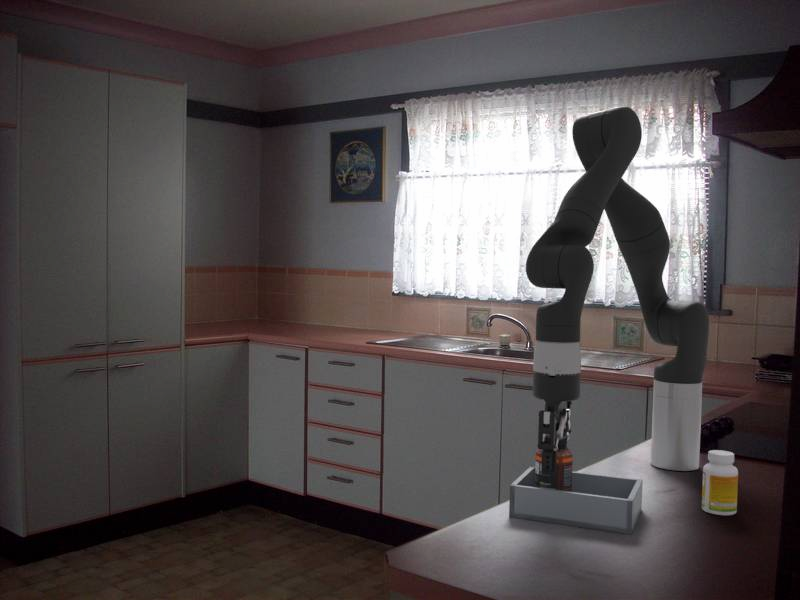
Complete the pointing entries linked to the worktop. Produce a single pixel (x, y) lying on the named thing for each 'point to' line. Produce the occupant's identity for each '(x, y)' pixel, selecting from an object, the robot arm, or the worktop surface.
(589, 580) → the worktop surface
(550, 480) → the supplement bottle
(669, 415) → the robot arm
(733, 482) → the supplement bottle
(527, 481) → the tote
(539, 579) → the worktop surface
